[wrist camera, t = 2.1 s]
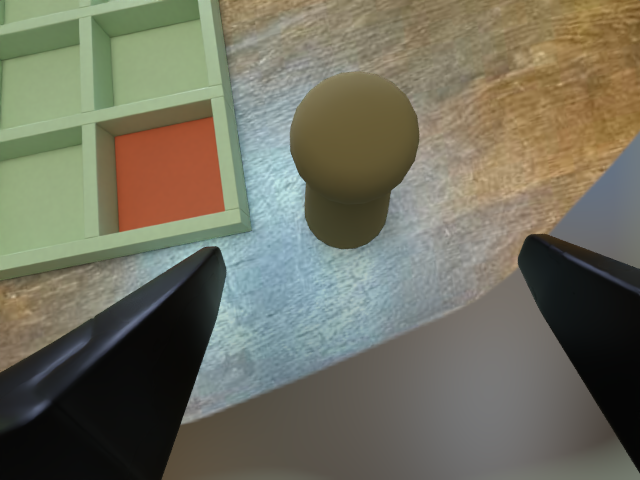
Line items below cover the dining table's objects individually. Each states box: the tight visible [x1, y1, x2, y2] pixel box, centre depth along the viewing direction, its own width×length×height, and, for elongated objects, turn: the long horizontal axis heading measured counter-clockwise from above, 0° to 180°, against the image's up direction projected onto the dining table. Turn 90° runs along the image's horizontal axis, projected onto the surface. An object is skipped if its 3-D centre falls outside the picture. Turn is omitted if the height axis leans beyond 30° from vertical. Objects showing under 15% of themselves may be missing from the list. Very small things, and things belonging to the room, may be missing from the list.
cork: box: [290, 71, 419, 249], centre depth 16 cm, size 6×6×11 cm
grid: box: [0, 0, 252, 281], centre depth 24 cm, size 39×20×2 cm, turn 11°
